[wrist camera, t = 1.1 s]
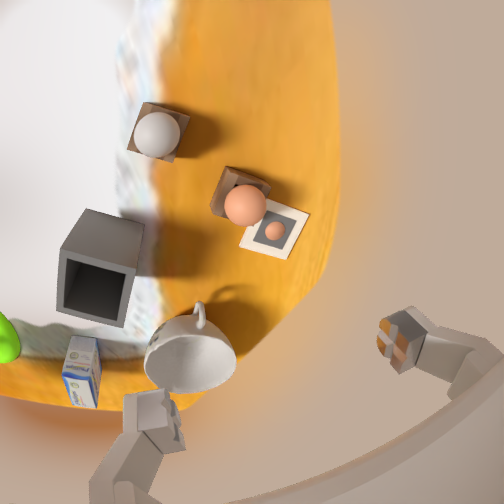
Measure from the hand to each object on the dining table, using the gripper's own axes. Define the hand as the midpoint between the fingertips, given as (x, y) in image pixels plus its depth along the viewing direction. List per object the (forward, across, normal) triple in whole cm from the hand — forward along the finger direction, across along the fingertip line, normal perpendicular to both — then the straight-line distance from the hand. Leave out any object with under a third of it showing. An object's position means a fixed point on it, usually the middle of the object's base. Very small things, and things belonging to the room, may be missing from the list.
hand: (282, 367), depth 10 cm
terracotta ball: (+23, -4, +2) cm, 23 cm away
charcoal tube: (+28, +12, +5) cm, 31 cm away
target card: (+28, -9, +8) cm, 30 cm away
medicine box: (+30, +24, +22) cm, 44 cm away
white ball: (+22, +3, -7) cm, 24 cm away
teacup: (+29, +5, +20) cm, 36 cm away
